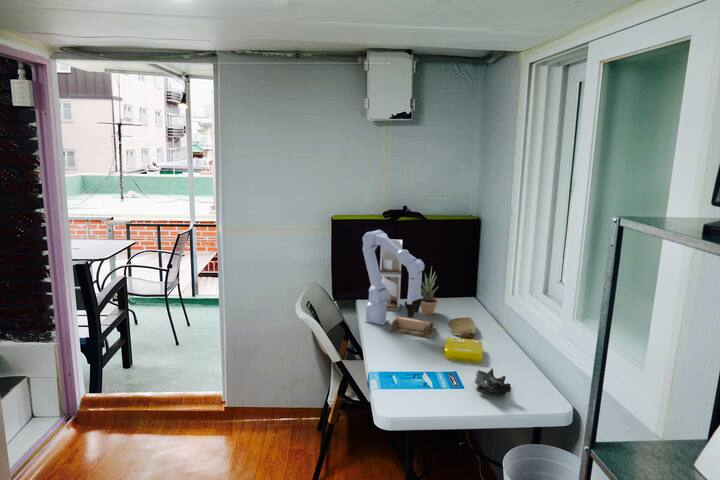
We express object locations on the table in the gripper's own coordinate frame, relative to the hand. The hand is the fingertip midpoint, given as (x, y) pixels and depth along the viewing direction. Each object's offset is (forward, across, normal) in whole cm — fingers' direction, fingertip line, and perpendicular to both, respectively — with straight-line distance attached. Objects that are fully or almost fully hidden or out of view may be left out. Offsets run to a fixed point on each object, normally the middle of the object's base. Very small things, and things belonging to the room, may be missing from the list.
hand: (413, 314), depth 228 cm
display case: (+8, +27, +21) cm, 35 cm away
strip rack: (+8, 0, 0) cm, 8 cm away
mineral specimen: (+8, -41, -43) cm, 60 cm away
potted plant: (+8, +27, 0) cm, 28 cm away
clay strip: (+6, 0, 0) cm, 6 cm away
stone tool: (+8, +10, -21) cm, 25 cm away
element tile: (+8, -15, -27) cm, 32 cm away
